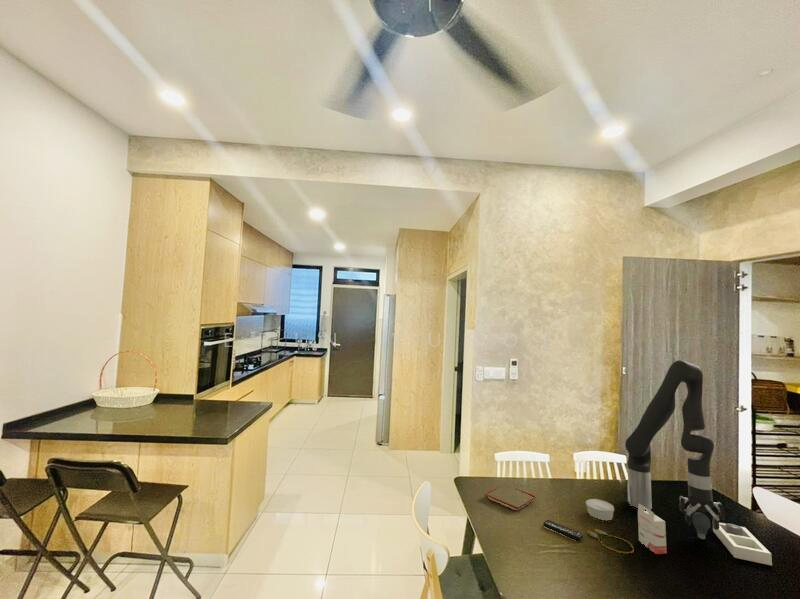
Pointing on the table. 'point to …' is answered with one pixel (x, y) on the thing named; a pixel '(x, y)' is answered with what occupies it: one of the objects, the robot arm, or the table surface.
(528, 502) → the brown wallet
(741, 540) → the white divided tray
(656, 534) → the ink cartridge box
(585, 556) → the table surface
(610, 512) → the ramekin
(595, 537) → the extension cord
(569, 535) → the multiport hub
